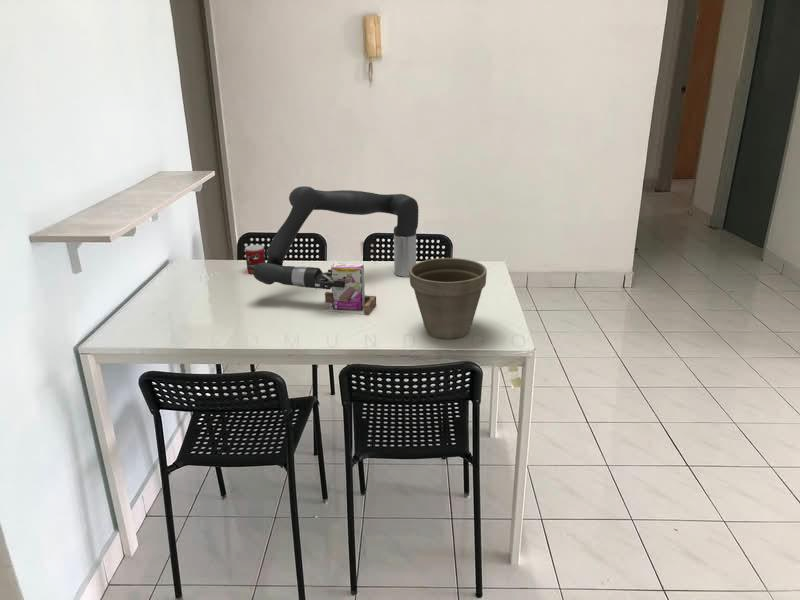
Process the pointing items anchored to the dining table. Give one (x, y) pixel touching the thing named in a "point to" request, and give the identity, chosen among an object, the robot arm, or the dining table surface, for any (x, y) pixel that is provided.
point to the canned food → (254, 256)
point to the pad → (347, 311)
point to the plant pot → (447, 294)
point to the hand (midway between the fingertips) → (348, 280)
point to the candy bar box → (348, 286)
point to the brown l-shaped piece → (368, 307)
